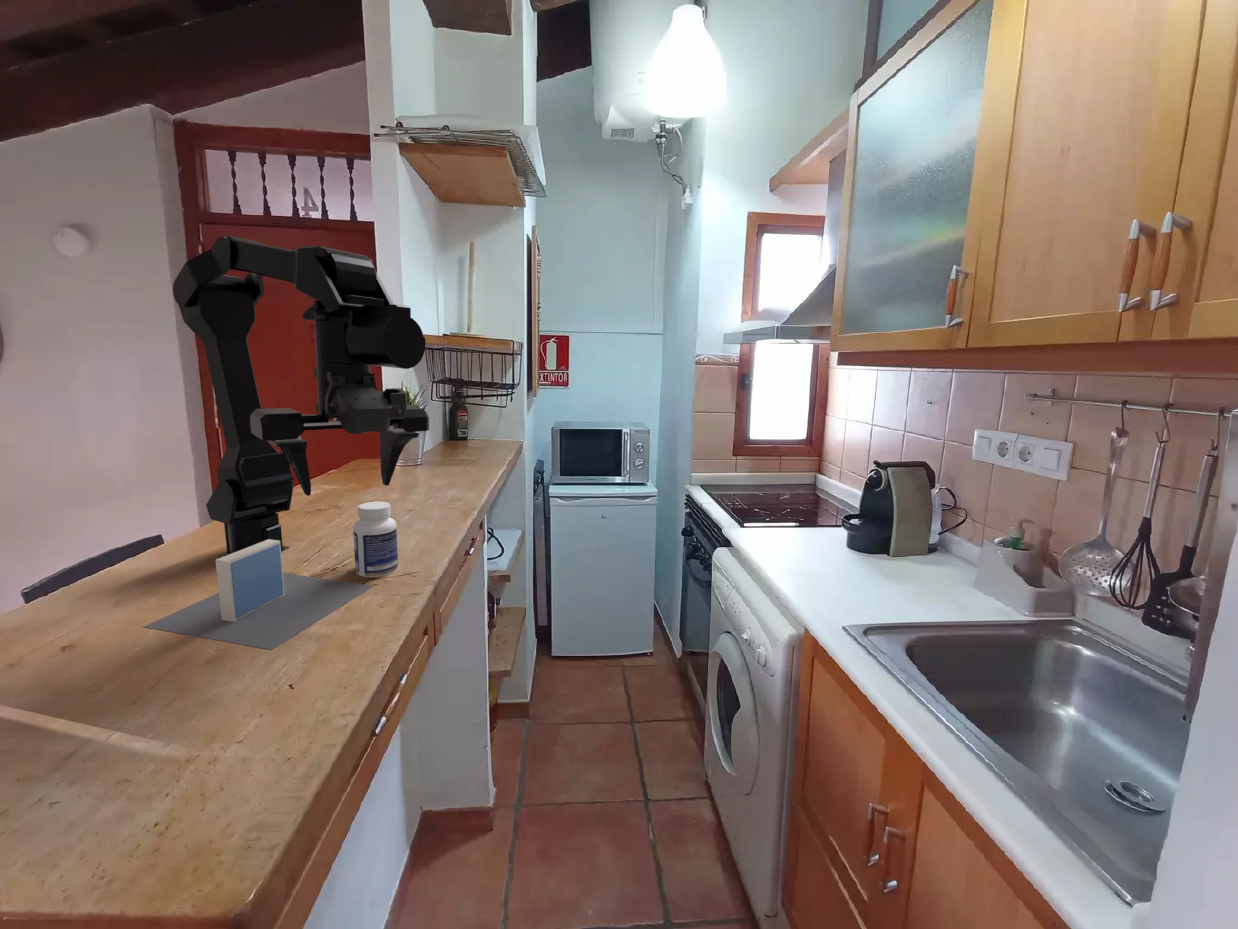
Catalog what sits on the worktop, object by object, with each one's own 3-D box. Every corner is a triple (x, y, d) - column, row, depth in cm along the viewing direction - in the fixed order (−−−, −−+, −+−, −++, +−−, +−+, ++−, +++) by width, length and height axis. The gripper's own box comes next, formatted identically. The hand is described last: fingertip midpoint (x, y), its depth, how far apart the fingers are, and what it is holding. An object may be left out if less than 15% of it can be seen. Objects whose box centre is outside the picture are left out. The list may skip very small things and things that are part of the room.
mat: (143, 631, 59) (143, 626, 59) (267, 574, 74) (267, 570, 74) (272, 655, 56) (271, 649, 55) (373, 590, 71) (373, 586, 71)
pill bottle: (406, 569, 78) (404, 503, 76) (378, 584, 73) (375, 513, 71) (375, 563, 80) (373, 497, 78) (346, 576, 75) (342, 507, 73)
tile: (221, 619, 61) (215, 559, 59) (273, 593, 67) (268, 539, 66) (235, 622, 60) (229, 561, 59) (285, 595, 67) (281, 540, 66)
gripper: (271, 365, 53) (281, 520, 57) (450, 369, 66) (449, 494, 70) (244, 358, 61) (254, 494, 64) (409, 362, 74) (410, 475, 77)
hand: (348, 489), depth 69 cm, fingers open, 9 cm apart
